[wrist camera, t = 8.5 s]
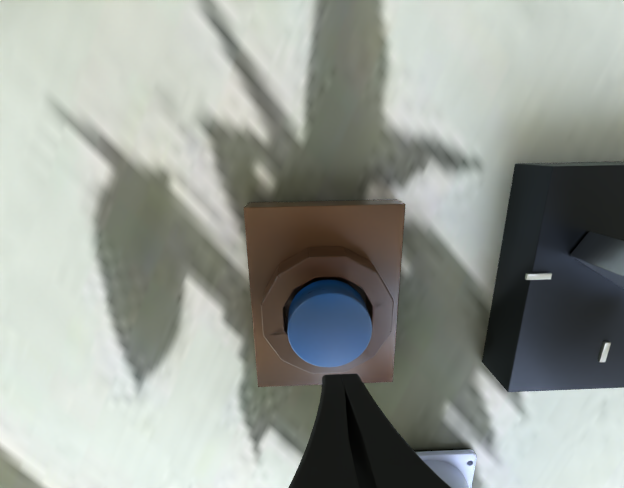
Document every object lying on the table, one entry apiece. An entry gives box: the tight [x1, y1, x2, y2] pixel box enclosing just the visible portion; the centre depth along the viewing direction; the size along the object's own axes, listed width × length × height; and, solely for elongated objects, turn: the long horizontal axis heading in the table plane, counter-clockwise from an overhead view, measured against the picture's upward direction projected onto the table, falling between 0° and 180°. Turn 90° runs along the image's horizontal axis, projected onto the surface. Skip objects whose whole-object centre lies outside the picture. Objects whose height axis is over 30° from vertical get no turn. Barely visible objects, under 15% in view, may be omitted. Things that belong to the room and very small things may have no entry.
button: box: [287, 280, 372, 367], centre depth 17 cm, size 4×4×2 cm
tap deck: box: [482, 162, 624, 392], centre depth 20 cm, size 14×12×3 cm
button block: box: [244, 199, 405, 387], centre depth 19 cm, size 12×9×4 cm
